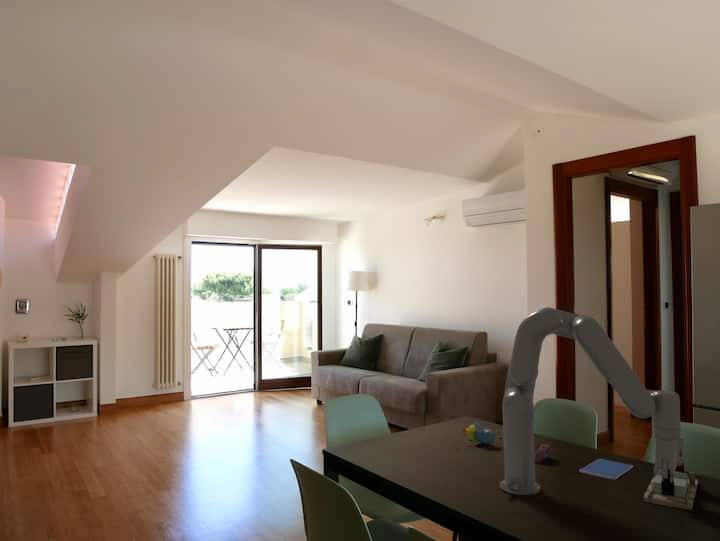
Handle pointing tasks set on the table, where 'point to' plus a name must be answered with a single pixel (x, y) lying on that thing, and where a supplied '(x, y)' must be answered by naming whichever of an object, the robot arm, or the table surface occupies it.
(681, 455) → the beverage can
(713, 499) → the table surface
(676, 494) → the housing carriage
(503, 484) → the robot arm
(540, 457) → the video game controller
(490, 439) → the owl figurine
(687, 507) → the base board
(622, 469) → the tablet computer
